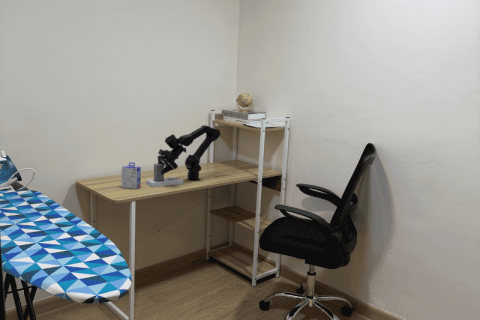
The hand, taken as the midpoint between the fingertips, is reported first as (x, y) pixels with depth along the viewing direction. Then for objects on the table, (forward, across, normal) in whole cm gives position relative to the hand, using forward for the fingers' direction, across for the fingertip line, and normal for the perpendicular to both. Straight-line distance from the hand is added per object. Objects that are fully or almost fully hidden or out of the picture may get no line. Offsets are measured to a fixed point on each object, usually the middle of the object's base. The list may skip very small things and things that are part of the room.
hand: (158, 172), depth 248 cm
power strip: (+2, 0, +8) cm, 9 cm away
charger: (+5, 0, +6) cm, 7 cm away
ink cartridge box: (+17, 0, -6) cm, 18 cm away
